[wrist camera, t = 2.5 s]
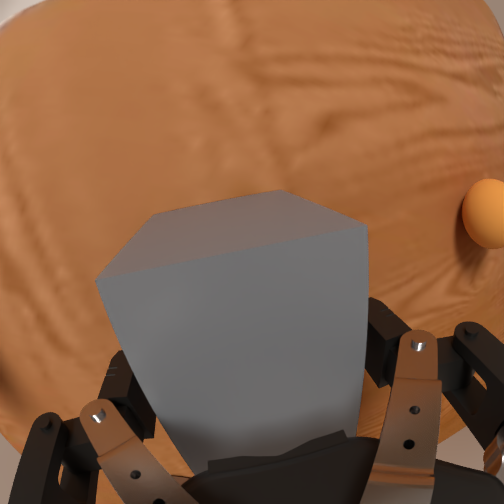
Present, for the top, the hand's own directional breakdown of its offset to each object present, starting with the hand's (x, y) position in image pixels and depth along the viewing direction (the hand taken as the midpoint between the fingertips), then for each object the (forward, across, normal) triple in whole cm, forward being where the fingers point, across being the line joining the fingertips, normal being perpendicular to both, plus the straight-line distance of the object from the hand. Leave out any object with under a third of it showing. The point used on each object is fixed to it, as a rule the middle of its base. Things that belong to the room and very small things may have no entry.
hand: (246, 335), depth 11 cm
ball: (+3, -18, -2) cm, 19 cm away
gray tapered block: (+5, 0, +1) cm, 5 cm away
